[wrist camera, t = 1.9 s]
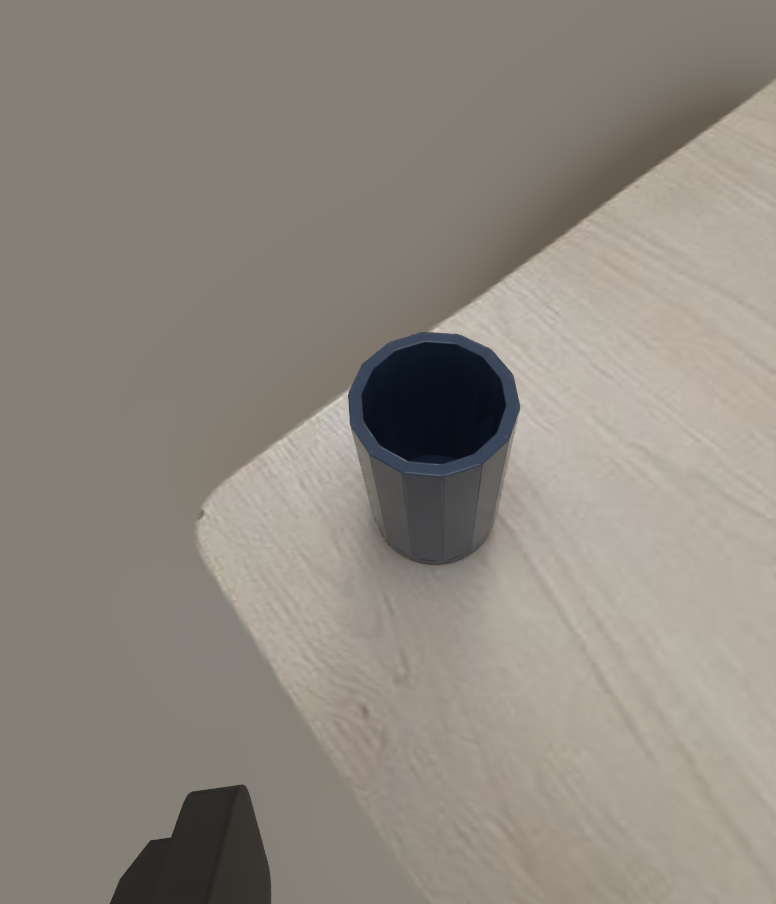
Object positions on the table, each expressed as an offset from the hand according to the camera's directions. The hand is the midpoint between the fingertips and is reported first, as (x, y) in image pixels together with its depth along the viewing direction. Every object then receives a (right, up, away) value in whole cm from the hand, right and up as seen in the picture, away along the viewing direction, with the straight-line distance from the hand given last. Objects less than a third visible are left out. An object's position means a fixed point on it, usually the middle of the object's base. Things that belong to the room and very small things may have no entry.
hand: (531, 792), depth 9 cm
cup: (0, +2, +19) cm, 20 cm away
